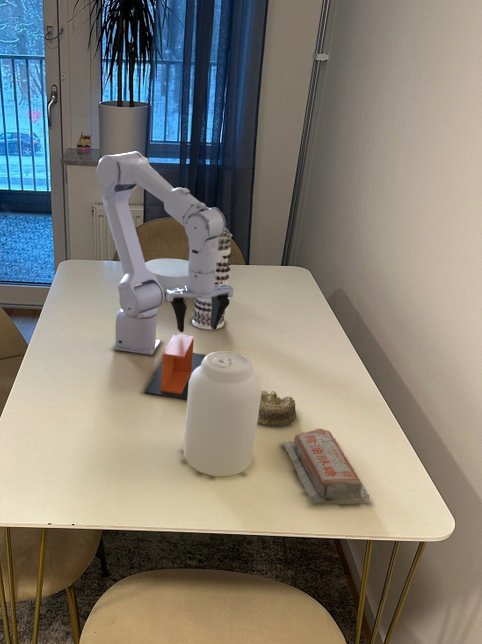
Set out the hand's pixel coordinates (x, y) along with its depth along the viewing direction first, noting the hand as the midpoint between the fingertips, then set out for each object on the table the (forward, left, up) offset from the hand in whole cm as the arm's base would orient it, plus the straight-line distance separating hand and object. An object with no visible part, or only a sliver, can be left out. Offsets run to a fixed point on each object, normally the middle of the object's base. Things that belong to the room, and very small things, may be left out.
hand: (197, 329), depth 142 cm
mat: (+1, -3, -10) cm, 11 cm away
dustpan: (-2, -4, -10) cm, 11 cm away
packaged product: (+30, -32, -10) cm, 45 cm away
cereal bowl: (-17, +49, -10) cm, 53 cm away
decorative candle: (-2, +28, -10) cm, 30 cm away
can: (+11, -33, -10) cm, 36 cm away
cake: (+19, -14, -10) cm, 26 cm away
